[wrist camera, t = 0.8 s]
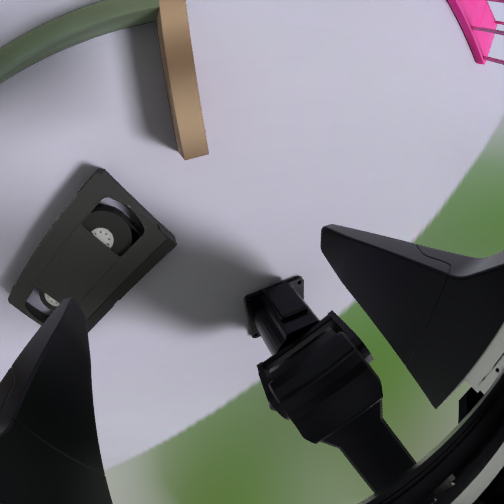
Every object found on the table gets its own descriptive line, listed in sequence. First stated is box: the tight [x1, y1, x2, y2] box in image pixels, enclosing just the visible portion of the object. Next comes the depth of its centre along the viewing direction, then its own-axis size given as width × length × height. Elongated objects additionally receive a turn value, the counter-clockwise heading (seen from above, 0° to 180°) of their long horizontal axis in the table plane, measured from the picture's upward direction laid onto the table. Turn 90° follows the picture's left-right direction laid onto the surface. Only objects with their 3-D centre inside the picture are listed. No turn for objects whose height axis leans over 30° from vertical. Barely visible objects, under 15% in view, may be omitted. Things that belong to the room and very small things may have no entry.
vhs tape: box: [8, 168, 177, 332], centre depth 18 cm, size 14×8×2 cm, turn 125°
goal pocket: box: [0, 0, 209, 160], centre depth 11 cm, size 12×23×3 cm, turn 97°
